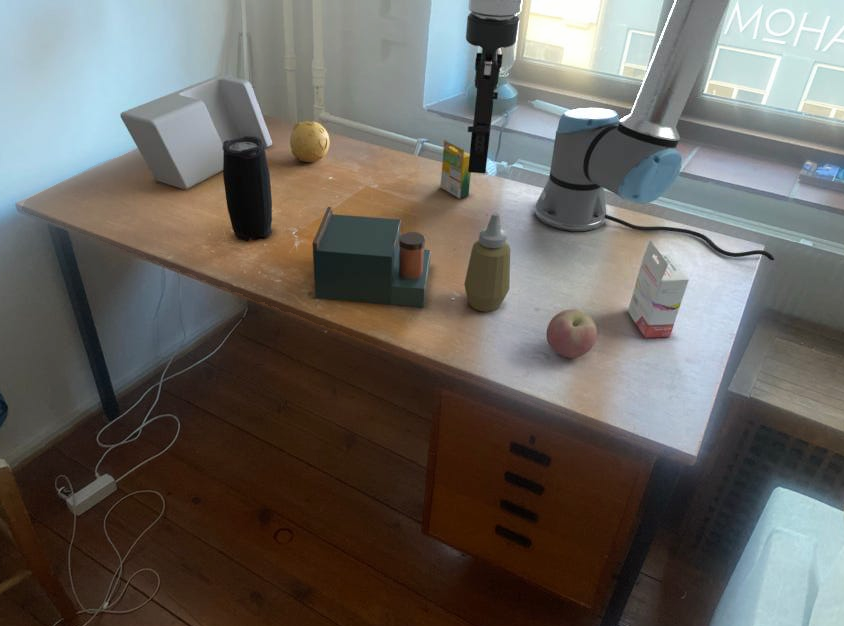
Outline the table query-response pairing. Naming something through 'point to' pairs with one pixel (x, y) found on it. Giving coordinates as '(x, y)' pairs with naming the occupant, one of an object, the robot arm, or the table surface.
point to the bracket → (195, 128)
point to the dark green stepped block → (364, 262)
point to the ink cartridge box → (657, 294)
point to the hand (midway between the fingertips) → (479, 155)
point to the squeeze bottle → (489, 268)
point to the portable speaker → (247, 187)
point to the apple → (571, 333)
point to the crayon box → (455, 170)
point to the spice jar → (411, 255)
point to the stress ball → (309, 141)
